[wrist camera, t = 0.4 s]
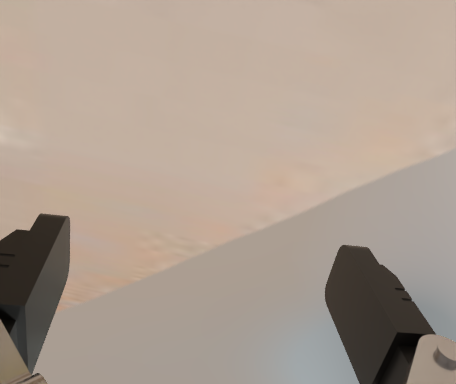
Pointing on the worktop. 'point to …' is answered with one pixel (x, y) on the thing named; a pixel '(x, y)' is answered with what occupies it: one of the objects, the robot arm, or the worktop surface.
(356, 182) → the worktop surface
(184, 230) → the worktop surface
